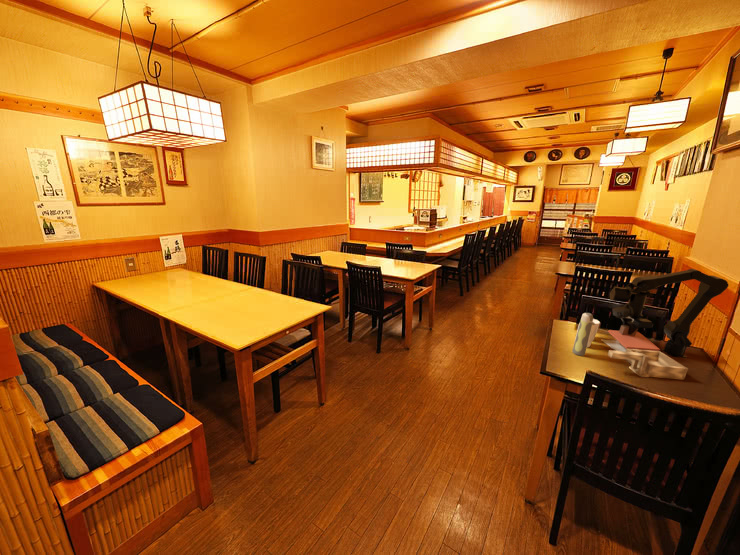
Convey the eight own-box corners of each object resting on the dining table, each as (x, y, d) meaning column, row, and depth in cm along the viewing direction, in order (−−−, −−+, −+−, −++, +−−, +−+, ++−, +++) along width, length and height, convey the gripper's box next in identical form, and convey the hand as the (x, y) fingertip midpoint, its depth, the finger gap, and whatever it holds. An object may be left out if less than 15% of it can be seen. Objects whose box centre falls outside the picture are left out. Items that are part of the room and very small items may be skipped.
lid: (637, 333, 152) (641, 325, 150) (659, 351, 139) (663, 342, 137) (607, 331, 153) (611, 323, 151) (626, 348, 140) (630, 339, 138)
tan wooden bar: (640, 357, 127) (642, 352, 127) (645, 360, 125) (646, 355, 124) (607, 354, 128) (609, 350, 128) (611, 357, 126) (612, 353, 126)
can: (587, 342, 152) (593, 320, 149) (592, 348, 146) (598, 326, 143) (572, 340, 154) (578, 318, 151) (576, 346, 148) (582, 323, 145)
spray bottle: (575, 349, 145) (585, 310, 139) (586, 354, 141) (597, 314, 135) (570, 352, 142) (579, 312, 137) (581, 357, 138) (592, 316, 133)
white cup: (598, 342, 154) (603, 324, 151) (583, 341, 154) (587, 323, 151) (588, 335, 161) (592, 317, 158) (573, 334, 161) (577, 316, 159)
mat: (634, 342, 154) (635, 342, 154) (660, 359, 139) (660, 358, 139) (601, 340, 156) (601, 339, 156) (622, 356, 141) (623, 355, 140)
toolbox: (656, 361, 137) (662, 343, 135) (685, 380, 123) (692, 361, 121) (616, 357, 139) (621, 340, 137) (639, 376, 125) (646, 357, 123)
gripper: (605, 295, 155) (598, 324, 159) (632, 309, 137) (622, 340, 141) (629, 297, 154) (621, 325, 158) (658, 311, 136) (648, 342, 140)
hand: (627, 333), depth 149 cm, fingers closed on lid, 3 cm apart
